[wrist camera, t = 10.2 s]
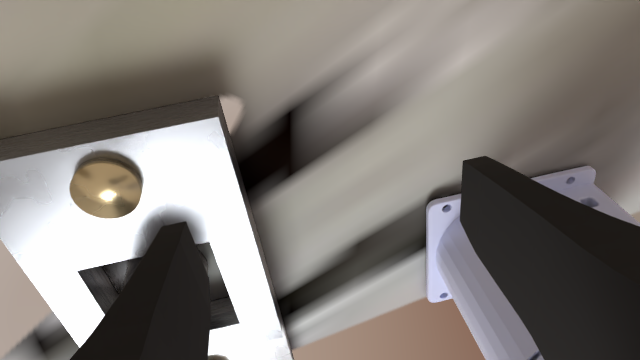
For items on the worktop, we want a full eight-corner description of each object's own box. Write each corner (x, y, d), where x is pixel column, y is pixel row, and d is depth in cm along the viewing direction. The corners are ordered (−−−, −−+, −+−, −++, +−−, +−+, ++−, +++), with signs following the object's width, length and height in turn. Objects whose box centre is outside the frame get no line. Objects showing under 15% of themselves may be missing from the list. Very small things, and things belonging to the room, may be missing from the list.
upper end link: (218, 95, 19) (218, 122, 17) (279, 309, 28) (284, 345, 25) (-26, 144, 19) (-56, 178, 17) (111, 349, 27) (101, 388, 25)
